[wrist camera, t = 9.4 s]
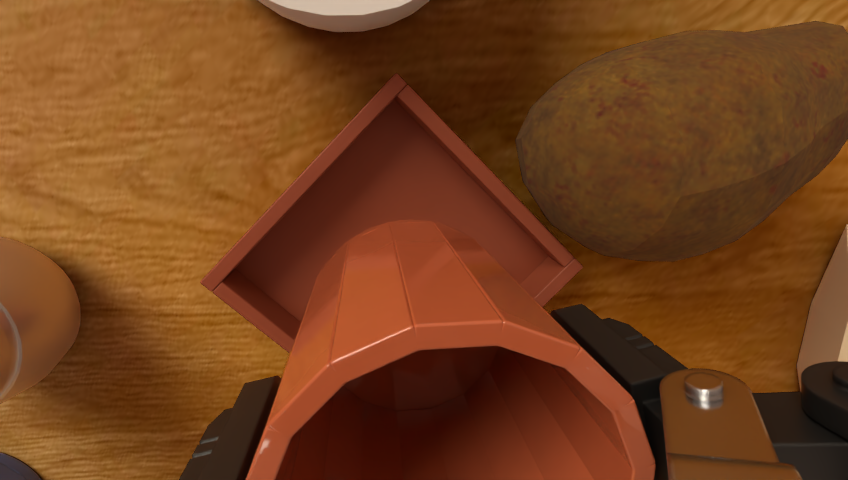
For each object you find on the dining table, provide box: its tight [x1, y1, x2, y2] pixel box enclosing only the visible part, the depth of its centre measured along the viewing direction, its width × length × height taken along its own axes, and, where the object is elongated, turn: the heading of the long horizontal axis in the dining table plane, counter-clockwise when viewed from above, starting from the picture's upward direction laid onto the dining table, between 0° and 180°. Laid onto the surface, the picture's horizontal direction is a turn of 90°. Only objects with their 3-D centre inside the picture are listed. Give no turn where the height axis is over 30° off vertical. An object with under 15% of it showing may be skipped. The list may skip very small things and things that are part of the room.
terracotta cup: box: [245, 219, 656, 480], centre depth 11 cm, size 6×6×8 cm
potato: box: [515, 21, 848, 261], centre depth 18 cm, size 8×12×9 cm
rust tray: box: [200, 73, 583, 353], centre depth 21 cm, size 11×11×2 cm
